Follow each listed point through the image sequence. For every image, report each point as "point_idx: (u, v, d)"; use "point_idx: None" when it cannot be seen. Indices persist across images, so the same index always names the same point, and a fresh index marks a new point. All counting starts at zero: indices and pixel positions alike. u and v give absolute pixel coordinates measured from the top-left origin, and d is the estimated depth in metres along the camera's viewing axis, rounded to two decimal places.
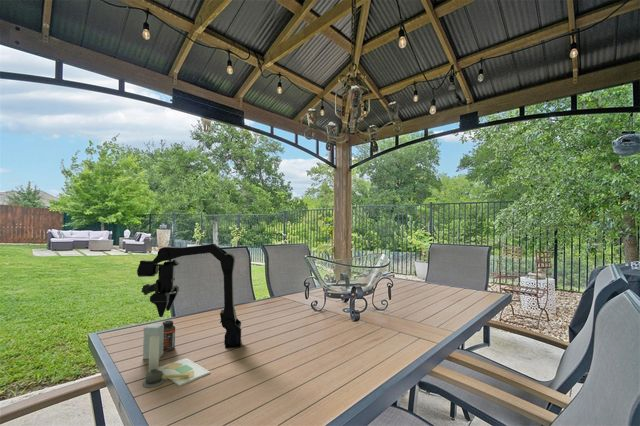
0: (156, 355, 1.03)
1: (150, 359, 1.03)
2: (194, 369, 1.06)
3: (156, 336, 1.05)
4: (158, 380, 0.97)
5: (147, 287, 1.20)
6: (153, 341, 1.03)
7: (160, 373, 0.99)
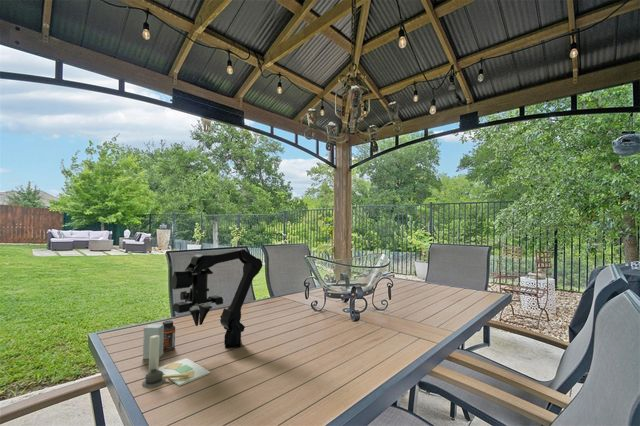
0: (156, 355, 1.03)
1: (150, 359, 1.03)
2: (194, 369, 1.06)
3: (156, 336, 1.05)
4: (158, 380, 0.97)
5: (182, 294, 1.20)
6: (153, 341, 1.03)
7: (160, 373, 0.99)
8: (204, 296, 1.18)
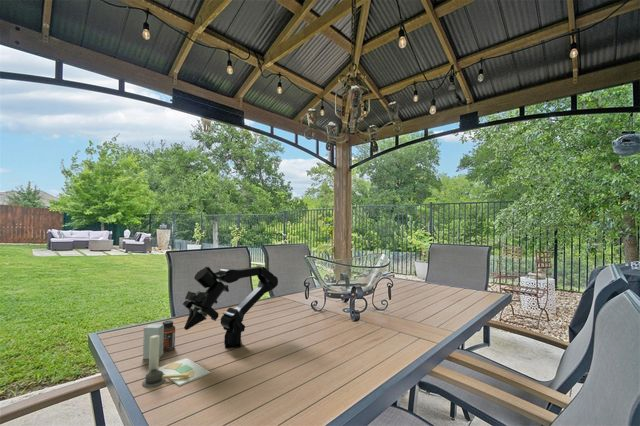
0: (156, 355, 1.03)
1: (150, 359, 1.03)
2: (194, 369, 1.06)
3: (156, 336, 1.05)
4: (158, 380, 0.97)
5: (202, 295, 1.14)
6: (153, 341, 1.03)
7: (160, 373, 0.99)
8: None
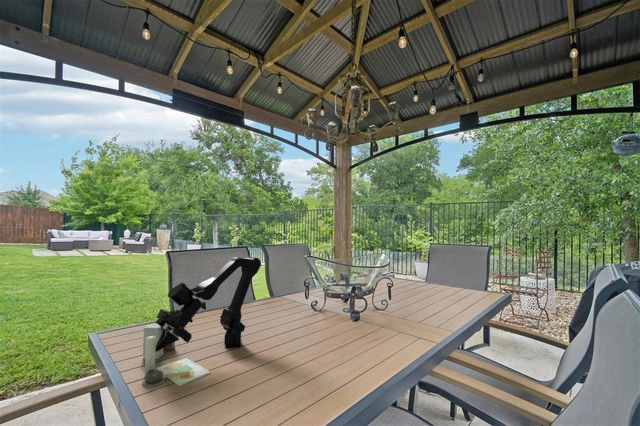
0: (153, 356, 1.03)
1: (147, 360, 1.02)
2: (194, 369, 1.06)
3: (152, 337, 1.04)
4: (159, 379, 0.98)
5: (174, 315, 1.06)
6: (151, 341, 1.03)
7: (160, 373, 0.99)
8: None
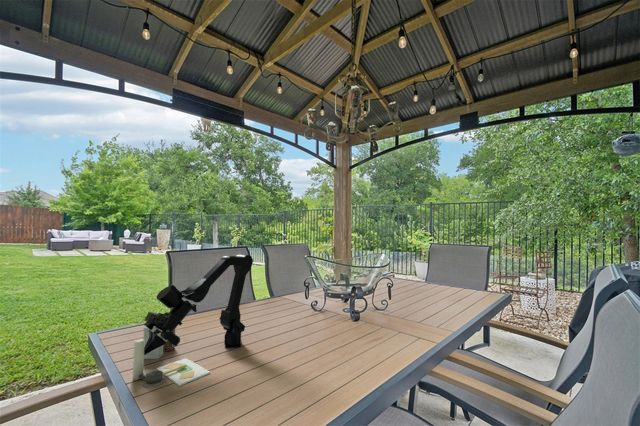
0: (143, 359, 1.01)
1: (138, 364, 0.99)
2: (194, 369, 1.06)
3: (140, 340, 1.01)
4: (162, 377, 0.99)
5: (163, 318, 1.03)
6: (142, 344, 1.00)
7: (160, 372, 1.00)
8: None
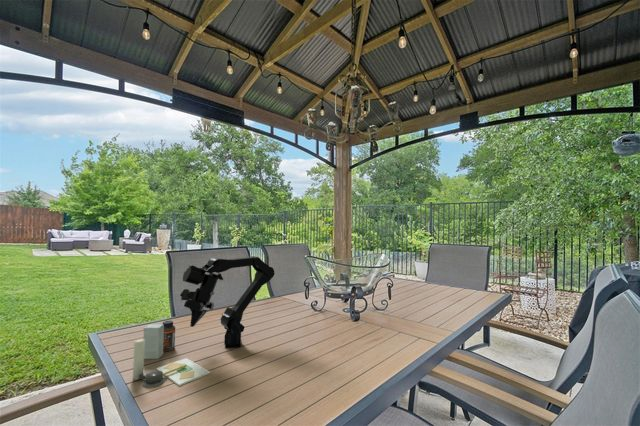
0: (143, 359, 1.01)
1: (138, 364, 0.99)
2: (194, 369, 1.06)
3: (140, 340, 1.01)
4: (162, 377, 0.99)
5: (186, 292, 1.17)
6: (142, 344, 1.00)
7: (159, 372, 1.00)
8: None
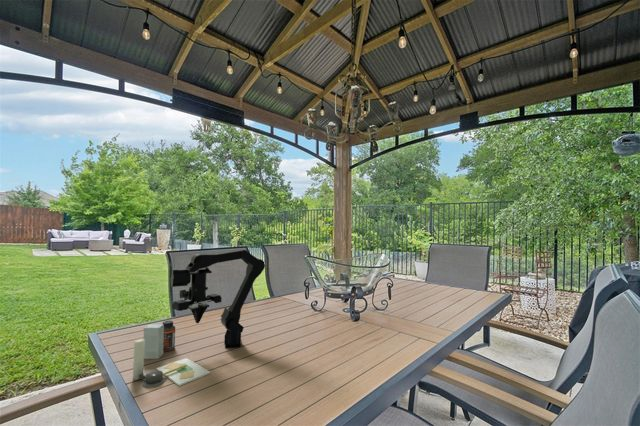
0: (143, 359, 1.01)
1: (138, 364, 0.99)
2: (194, 369, 1.06)
3: (140, 340, 1.01)
4: (162, 377, 0.99)
5: (181, 293, 1.22)
6: (142, 344, 1.00)
7: (159, 372, 1.00)
8: (203, 294, 1.21)
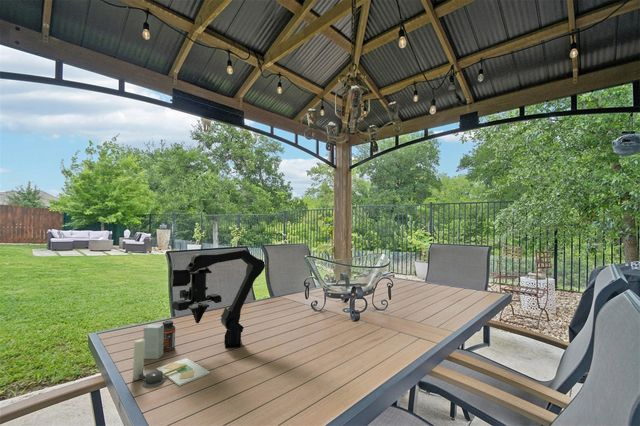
0: (143, 359, 1.01)
1: (138, 364, 0.99)
2: (194, 369, 1.06)
3: (140, 340, 1.01)
4: (162, 377, 0.99)
5: (181, 293, 1.22)
6: (142, 344, 1.00)
7: (159, 372, 1.00)
8: (203, 294, 1.21)
